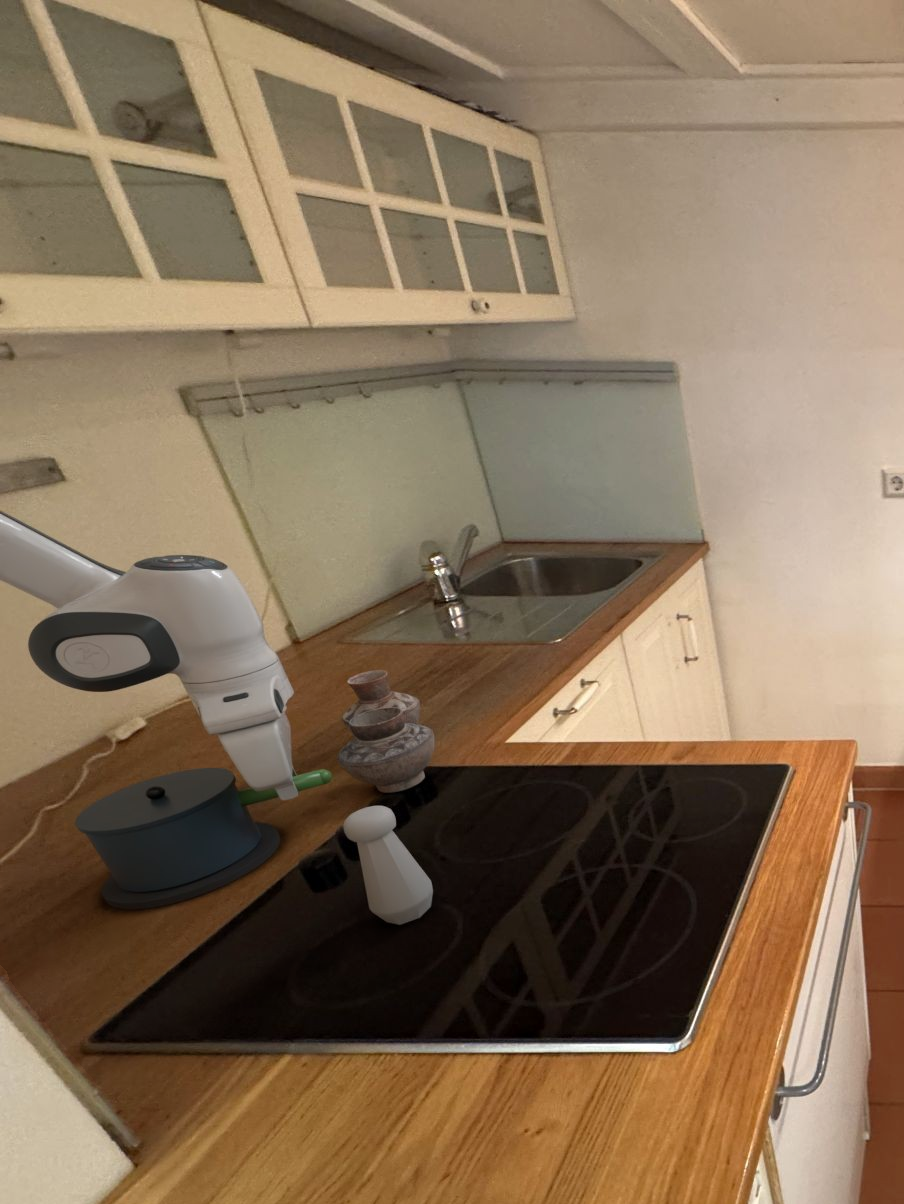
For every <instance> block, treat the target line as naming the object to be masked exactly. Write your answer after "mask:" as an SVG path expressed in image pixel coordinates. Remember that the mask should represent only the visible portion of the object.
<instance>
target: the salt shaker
mask: <svg viewBox="0 0 904 1204" xmlns="http://www.w3.org/2000/svg"><path fill="white" fill-rule="evenodd" d="M342 826H343V832H344V835H345V836H346V838H347V839H348V840H350V841H352V842H354V843H356V845H357V850H358V855H359V860H360V865H361V871H362V876H363V882H364V887H365V892H366V897H367V904H368V908H369V910H370V912H371V913H373V914H374V915H376V916H378V918H380V919H382V920H383V921H385V922H386V923H389V924H394V925H398V926H401V925H404V924H406V923H410V922H412V921H415V920H417V919H420V918H421V917H422V916H423V915H424V914H425V913H426V912H427V911H428V910H429V909H430V908H431V907H432V903H433V895H434V889H433V884H432V880H431V879H430V877H429V876H428V874H427V873H426V872H425V870H424V869H422V867H421V865H419V863H418V862H417V860H416V859H415V858H414V856H412V854H411V853H410V851H409V849H407V847H406V846H405V844H404V843H403V842H402V841H401V840H400V838H399V836H398V835H396V833H395V832H394V829H395V828H396V827H397V820H396V816H395V813H394V812H393V810H392V809H391V808H389V807H388V806H384V805H371V806H367V807H364V808H361V809H358V810H356V811H354V812H352V813H351V814H349V815H348V816H347V817H346V818H345V820H344V821H343V825H342Z"/></svg>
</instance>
